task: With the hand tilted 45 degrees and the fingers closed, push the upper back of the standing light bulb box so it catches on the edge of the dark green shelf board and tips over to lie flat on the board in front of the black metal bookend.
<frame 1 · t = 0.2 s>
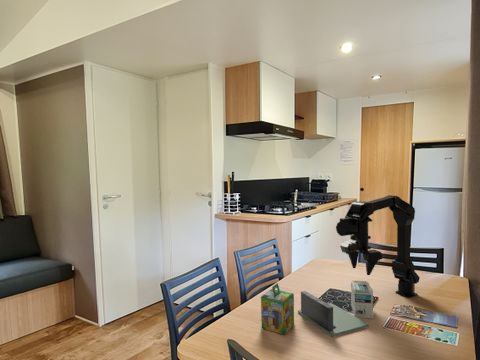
hand: (361, 271, 130), 14 cm above the table, tool pointing down, fingers open, 9 cm apart
light bulb box: (361, 312, 125), on the table
shelf board: (331, 319, 119), on the table
chalk box: (278, 327, 114), on the table
bookend: (316, 323, 116), resting on shelf board
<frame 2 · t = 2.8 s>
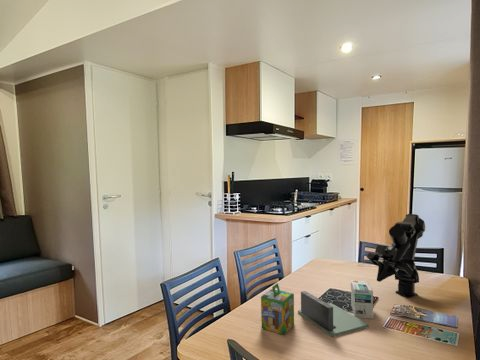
hand: (377, 280, 128), 11 cm above the table, tool tilted 45°, fingers closed
nothing on the table moved.
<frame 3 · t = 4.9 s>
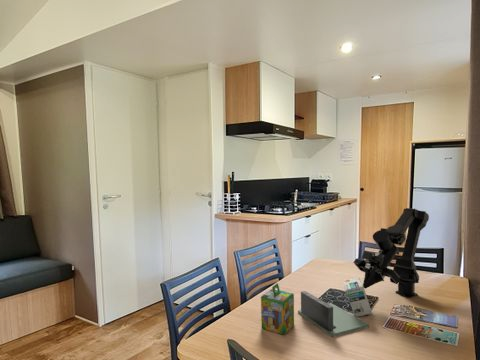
hand: (364, 287, 125), 9 cm above the table, tool tilted 45°, fingers closed
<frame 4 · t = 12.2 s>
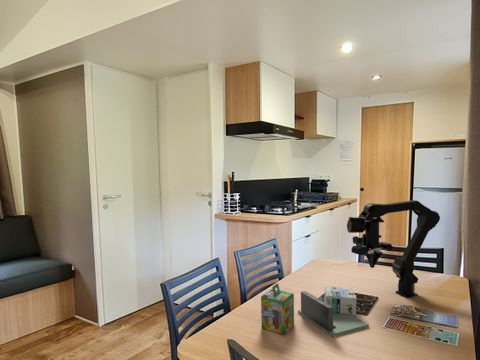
hand: (372, 267, 141), 12 cm above the table, tool pointing down, fingers closed
light bulb box: (354, 300, 125), point 4 cm above the table, touching shelf board
everything else where it was.
at the end: light bulb box tilted 89°; light bulb box inside the target area (10.0 cm from its centre), point 4.2 cm above the table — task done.
